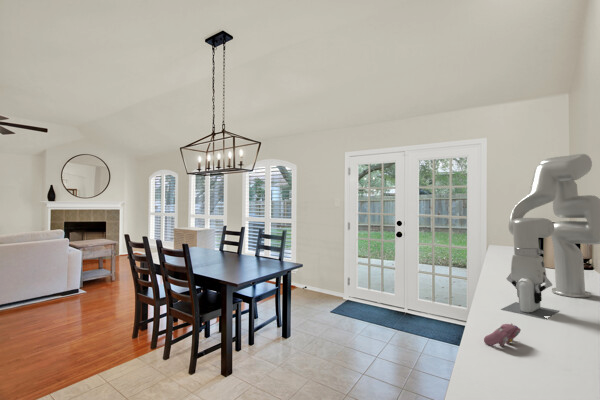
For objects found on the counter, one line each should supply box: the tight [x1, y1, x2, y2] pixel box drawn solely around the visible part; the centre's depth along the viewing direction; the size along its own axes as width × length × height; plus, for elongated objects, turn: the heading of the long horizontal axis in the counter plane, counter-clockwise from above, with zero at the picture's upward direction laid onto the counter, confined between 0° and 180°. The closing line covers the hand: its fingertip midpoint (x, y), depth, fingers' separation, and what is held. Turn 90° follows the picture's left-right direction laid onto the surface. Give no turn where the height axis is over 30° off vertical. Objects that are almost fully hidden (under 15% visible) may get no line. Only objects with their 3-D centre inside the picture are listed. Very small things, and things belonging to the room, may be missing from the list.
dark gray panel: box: [500, 301, 560, 320], centre depth 114 cm, size 14×14×1 cm
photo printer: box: [517, 278, 541, 313], centre depth 114 cm, size 10×4×12 cm, turn 124°
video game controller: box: [483, 323, 522, 347], centre depth 87 cm, size 10×5×7 cm, turn 118°
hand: (529, 300), depth 114 cm, fingers closed on photo printer, 4 cm apart
